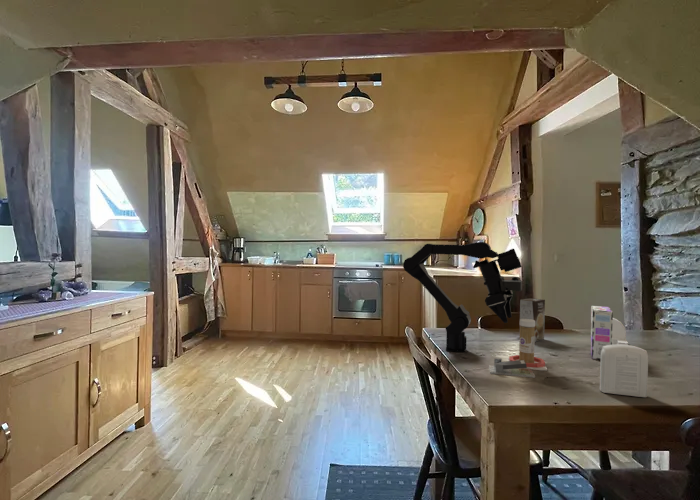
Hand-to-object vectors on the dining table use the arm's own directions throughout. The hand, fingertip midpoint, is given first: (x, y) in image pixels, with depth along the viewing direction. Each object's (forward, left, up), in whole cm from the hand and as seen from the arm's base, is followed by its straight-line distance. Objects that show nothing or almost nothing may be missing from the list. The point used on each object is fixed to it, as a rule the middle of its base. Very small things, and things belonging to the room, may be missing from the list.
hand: (508, 320), depth 138 cm
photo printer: (+25, -30, -12) cm, 41 cm away
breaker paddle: (-4, -20, -11) cm, 23 cm away
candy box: (+31, +10, -12) cm, 35 cm away
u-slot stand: (+39, +28, -13) cm, 50 cm away
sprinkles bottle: (+5, -9, -12) cm, 16 cm away
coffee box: (+12, +30, -12) cm, 35 cm away
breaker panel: (-1, -20, -12) cm, 23 cm away
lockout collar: (+5, -10, -12) cm, 16 cm away
